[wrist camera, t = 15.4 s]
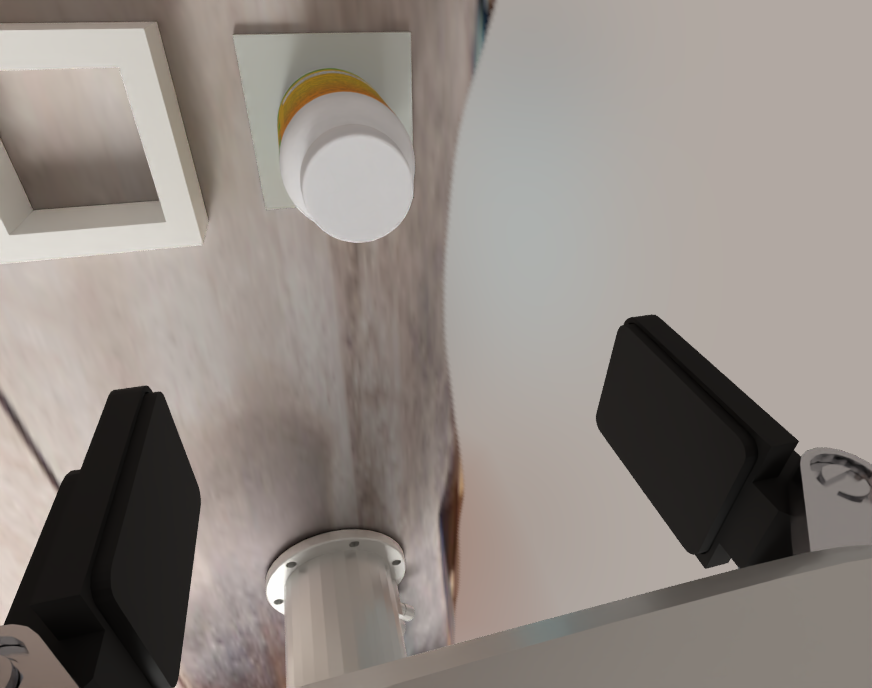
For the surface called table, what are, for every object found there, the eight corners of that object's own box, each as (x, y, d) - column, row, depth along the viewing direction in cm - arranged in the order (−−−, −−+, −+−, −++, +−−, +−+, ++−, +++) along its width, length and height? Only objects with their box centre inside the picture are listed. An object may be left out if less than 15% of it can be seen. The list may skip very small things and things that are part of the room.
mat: (409, 31, 25) (411, 32, 25) (411, 195, 30) (413, 198, 29) (233, 34, 23) (232, 35, 23) (265, 207, 28) (265, 210, 28)
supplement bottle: (253, 101, 25) (245, 162, 17) (352, 42, 24) (390, 77, 17) (316, 198, 28) (333, 285, 20) (404, 148, 28) (455, 217, 20)
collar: (157, 21, 22) (143, 28, 20) (208, 221, 28) (202, 245, 25) (-92, 24, 20) (-138, 32, 18) (14, 237, 26) (-11, 265, 23)
